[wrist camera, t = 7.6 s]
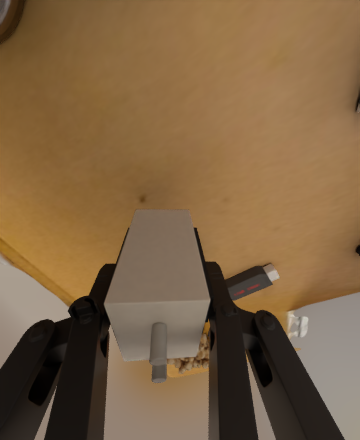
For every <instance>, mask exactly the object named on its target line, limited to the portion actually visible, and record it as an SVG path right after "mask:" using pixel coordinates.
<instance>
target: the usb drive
mask: <svg viewBox="0 0 360 440" xmlns="http://www.w3.org/2000/svg"><path fill="white" fill-rule="evenodd" d="M278 278H280V277H279V275H278V273H277V271H276V269H275V268H274V267H273V265H272V264H269V265H267V266H264V267H262V266H255V267H253V268H251V269H249V270H247V271H244V272H242V273H240V274H238V275H236V276H233V277H231V278H229V279H227V280H225V282H226V285H227V288H228V291H229V294H230V297H231V299H232V300H237V299H239V298H242V297H244V296H247V295H249V294H251V293H254V292H256V291H259V290H261V289H263V288H266V287H268V286H270V285H273V284H272V282H271V281H274V280H276V279H278Z"/></svg>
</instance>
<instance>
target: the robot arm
mask: <svg viewBox="0 0 360 440" xmlns="http://www.w3.org/2000/svg"><path fill="white" fill-rule="evenodd" d="M24 1H25V0H0V43H1V42H3V41H4V40H6V39H7V38H8V37H9V36H10V35H11V33H12V32H13V31H14V29H15V28H16V26H17V24H18V22H19V19H20V17H21V14H22V10H23V6H24ZM128 231H129V228H128V230H127V233H126V236H125V239H124V241H123V244H122V247H121V250H120V253H119V256H118V259H117V262H116V264H105V265H104V266H103V267H102V268H101V269H100V271H99V273H98V275H97V278H96V280H95V283H94V285H93V287H92V289H91V291H90V294H89V296H83V297H81V298H79V299H77V300H76V301H74V302H73V303H72V305H71V306H70V307H69V310H68V312H69V314H70V316H71V317H70V318H67V319H64V320H61V321H58V322H55V323H54V322H53V321H52V320H49V319H46V320H41V321H39V322H37V323H35V324H34V325H33V326H31V327H30V328H29V329H28V330H27V331H26V332H25V334H24V335H23V336H22V338H21V339H20V341H19V342H18V344H17V345H16V347H15V348H14V350H13V351H12V353H11V354H10V356H9V357H8V359H7V360H6V362H5V363H4V364H3V366H2V367H1V369H0V440H34V439H35V436H36V434H37V431H38V429H39V427H40V424H41V422H42V419H43V417H44V415H45V412H46V410H47V408H48V405H49V403H50V400H51V398H52V396H53V394H54V391H55V389H56V393H55V396H54V401H53V405H52V409H51V413H50V418H49V422H48V426H47V430H46V434H45V438H44V440H103V439H104V421H105V404H106V403H105V402H106V387H107V370H108V369H107V367H108V352H109V331H108V330H109V327H110V321H109V318H108V315H107V312H106V309H105V306H104V302H105V299H106V296H107V293H108V290H109V287H110V284H111V281H112V278H113V275H114V272H115V269H116V266H117V264H118V261H119V258H120V255H121V252H122V249H123V246H124V243H125V240H126V237H127V234H128ZM194 232H195V237H196V241H197V245H198V249H199V254H200V258H201V262H202V267H203V271H204V275H205V279H206V284H207V288H208V292H209V297H210V304H209V308H208V312H207V316H206V320H205V322H208V319H209V322H210V328H209V332H208V337H209V440H258V434H257V427H256V420H255V414H254V407H253V400H252V393H251V386H250V380H249V373H248V366H247V359H246V354H247V357H248V360H249V363H250V365H251V368H252V371H253V374H254V377H255V380H256V383H257V386H258V388H259V392H260V394H261V397H262V400H263V403H264V406H265V409H266V412H267V415H268V417H269V420H270V423H271V426H272V429H273V432H274V435H275V438H276V440H345V439H344V437H343V436H342V434H341V432H340V430H339V428H338V427H337V425H336V423H335V421H334V419H333V418H332V416H331V414H330V412H329V410H328V409H327V407H326V405H325V403H324V401H323V400H322V398H321V396H320V394H319V392H318V391H317V389H316V387H315V386H314V383H313V382H312V380H311V378H310V377H309V375H308V373H307V371H306V369H305V367H304V366H303V364H302V362H301V360H300V358H299V357H298V355H297V353H296V351H295V349H294V348H293V346H292V344H291V342H290V340H289V339H288V337H287V335H286V333H285V331H284V330H283V328H282V326H281V324H280V322H279V321H278V320H277V318H276V317H275V316H274V315H273V314H272V313H270V312H268V311H265V310H260V311H257V312H256V314H255V313H252V312H248V311H245V310H242V309H240V308H239V307H237V306H236V305H235V304H234V303H233V301H232V299H231V297H230V294H229V291H228V288H227V285H226V282H225V280H224V277H223V274H222V271H221V268H220V266H219V265H218V264H217V263H216V262H205V259H204V255H203V251H202V247H201V243H200V239H199V235H198V231H197V228H194ZM245 351H246V353H245ZM56 386H57V388H56Z"/></svg>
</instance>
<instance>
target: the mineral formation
mask: <svg viewBox="0 0 360 440" xmlns="http://www.w3.org/2000/svg"><path fill="white" fill-rule="evenodd" d="M167 364H170V365H173V364H175V367H176V368H179V373H180V374H183V373H184V371H186V370H188V371H190V370H191V369H192V367H193V368H197V366H198V368H199V367H200V366H201V365H202V367H203V368H207V367H209V341H208V340H207V337H206V334H202V336H201V340H200V344H199V348H198V352H197V356H196V357H184V358H168V359H167Z"/></svg>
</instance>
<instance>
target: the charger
mask: <svg viewBox="0 0 360 440" xmlns="http://www.w3.org/2000/svg"><path fill="white" fill-rule="evenodd" d="M209 304H210V297H209V292H208V288H207V284H206V279H205V275H204V271H203V267H202V262H201V258H200V254H199V249H198V245H197V241H196V237H195V232H194V228H193V224H192V219H191V215H190V211H189V210H165V209H136V210H135V213H134V216H133V219H132V222H131V225H130V228H129V231H128V234H127V237H126V240H125V243H124V246H123V249H122V252H121V255H120V258H119V261H118V264H117V266H116V269H115V272H114V275H113V278H112V281H111V284H110V287H109V290H108V293H107V296H106V299H105V302H104V306H105V309H106V312H107V315H108V318H109V321H110V323H111V326H112V329H113V332H114V335H115V337H116V340H117V343H118V346H119V349H120V351H121V354H122V357H123V360H124V361H136V360H149V362H150V364H151V365H153V367H152V382H154V383H161V382H164V381H166V374H167V359H168V358H184V357H196V356H197V352H198V348H199V344H200V340H201V336H202V332H203V328H204V324H205V320H206V316H207V312H208V308H209Z"/></svg>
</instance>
